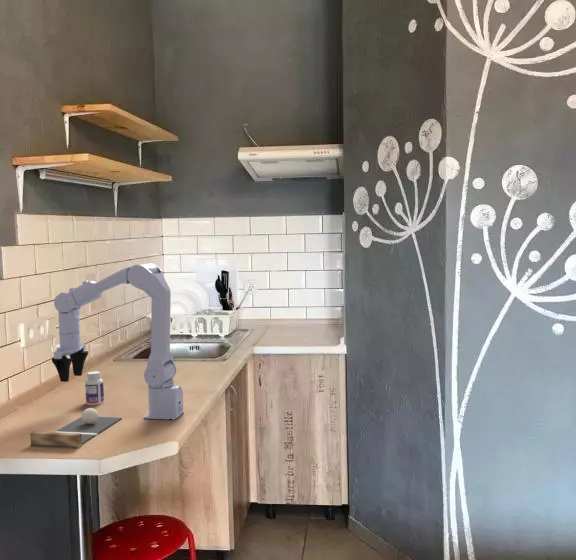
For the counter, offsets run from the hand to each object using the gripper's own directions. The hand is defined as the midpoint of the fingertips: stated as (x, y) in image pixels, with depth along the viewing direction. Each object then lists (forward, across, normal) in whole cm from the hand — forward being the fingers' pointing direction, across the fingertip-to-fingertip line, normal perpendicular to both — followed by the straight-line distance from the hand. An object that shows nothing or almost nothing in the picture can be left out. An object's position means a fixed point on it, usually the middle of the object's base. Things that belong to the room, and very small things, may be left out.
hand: (71, 378), depth 190 cm
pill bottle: (+10, -10, +2) cm, 14 cm away
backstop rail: (+10, +29, +12) cm, 33 cm away
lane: (+10, +18, +12) cm, 23 cm away
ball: (+10, +12, +12) cm, 19 cm away
